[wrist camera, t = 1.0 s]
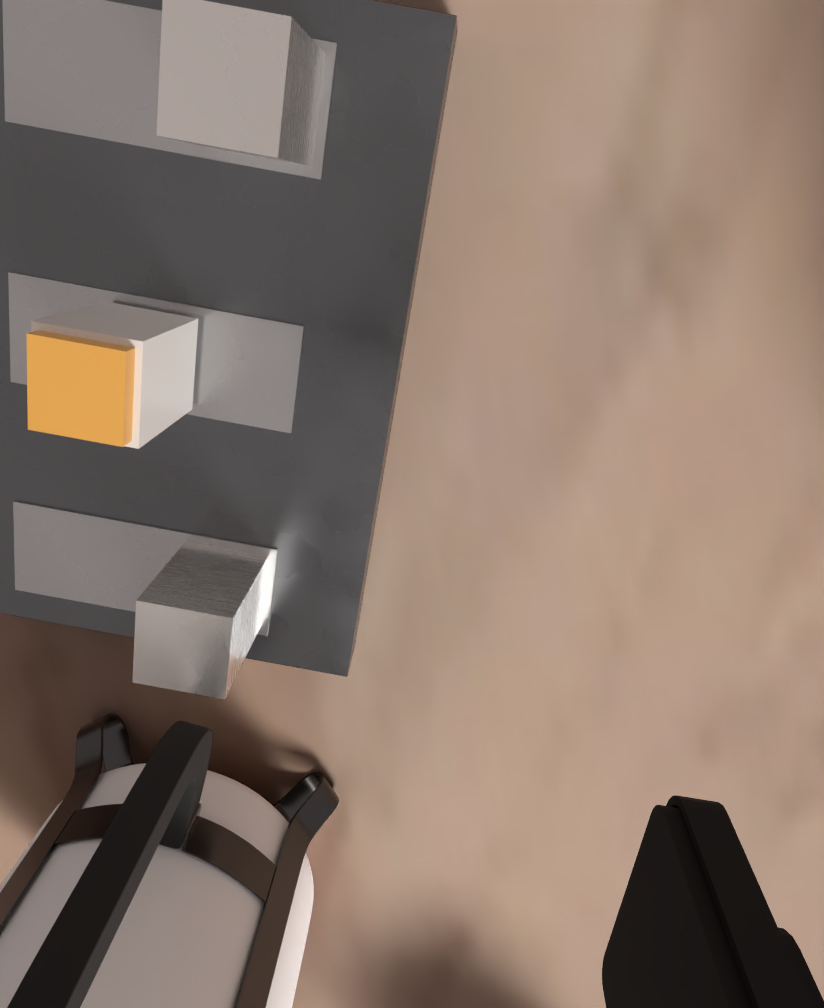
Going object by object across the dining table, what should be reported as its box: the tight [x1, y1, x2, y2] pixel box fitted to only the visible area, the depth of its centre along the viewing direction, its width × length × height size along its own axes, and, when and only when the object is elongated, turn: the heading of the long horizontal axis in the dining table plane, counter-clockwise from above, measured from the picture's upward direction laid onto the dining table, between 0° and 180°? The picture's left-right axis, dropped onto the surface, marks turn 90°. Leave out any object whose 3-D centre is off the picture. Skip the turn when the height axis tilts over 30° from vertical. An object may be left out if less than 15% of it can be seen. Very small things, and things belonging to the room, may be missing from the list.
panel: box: [0, 0, 457, 699], centre depth 24 cm, size 22×16×7 cm
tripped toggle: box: [27, 301, 198, 449], centre depth 23 cm, size 3×3×5 cm
